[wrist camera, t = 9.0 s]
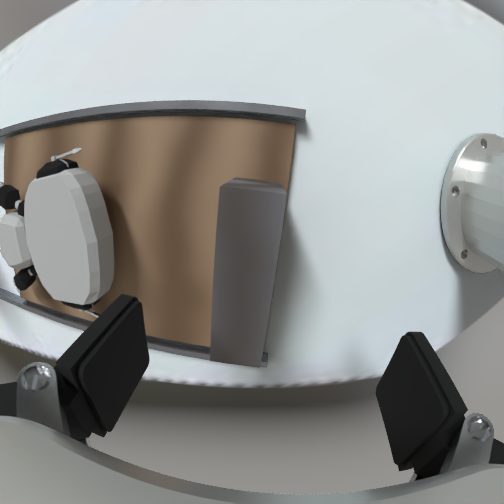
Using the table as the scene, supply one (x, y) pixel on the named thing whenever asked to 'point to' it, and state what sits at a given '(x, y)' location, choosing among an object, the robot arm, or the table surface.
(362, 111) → the table surface
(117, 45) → the table surface
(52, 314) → the guide rails
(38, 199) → the robot toy
